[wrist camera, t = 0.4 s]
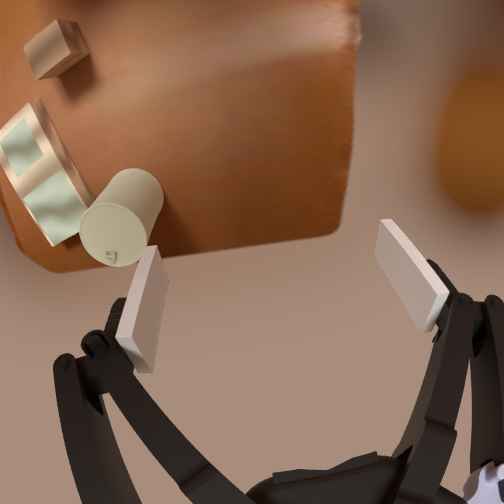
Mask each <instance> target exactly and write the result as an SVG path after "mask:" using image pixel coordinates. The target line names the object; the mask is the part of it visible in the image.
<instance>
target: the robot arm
mask: <svg viewBox="0 0 504 504" xmlns="http://www.w3.org/2000/svg"><path fill="white" fill-rule="evenodd" d="M374 257H375V259H376V261H377V262H378V264H379V265H380V267H381V269H382V270H383V272H384V273H385V275H386V276H387V278H388V280H389V281H390V283H391V285H392V286H393V288H394V289H395V291H396V293H397V295H398V296H399V298H400V300H401V301H402V303H403V305H404V306H405V308H406V310H407V312H408V314H409V315H410V317H411V319H412V321H413V322H414V324H415V326H416V328H417V330H418V332H419V333H420V334H423V333H426V332H430V331H432V329H433V327H434V325H435V323H436V324H437V326H438V328H439V329H438V331H437V333H436V335H435V337H434V338H433V340H432V342H434V345H433V349H432V353H431V356H430V360H429V364H428V367H427V370H426V374H425V377H424V380H423V383H422V386H421V389H420V392H419V395H418V398H417V401H416V404H415V407H414V409H413V412H412V415H411V417H410V420H409V422H408V425H407V427H406V430H405V432H404V434H403V437H402V439H401V441H400V443H399V445H398V446H397V448H396V449H395V451H394V453H393V454H392V456H391V457H389V456H381V455H377V452H376V451H375V452H372V453H368V454H365V455H361V456H358V457H354V458H351V459H349V460H347V461H345V462H344V463H342V464H339V465H338V466H335V467H334V468H331V469H329V470H305V469H297V470H290V471H284V472H275V473H273V477H271V478H268V479H265V480H263V481H261V482H260V483H258V484H256V485H255V486H254V487H252V488H251V489H250V490H249V491H248V492H247V493H246V494H244V493H243V492H242V491H240V490H239V489H238V488H237V487H236V486H235V485H234V484H232V483H231V482H230V481H229V480H228V479H227V478H226V477H225V476H224V475H223V474H222V473H220V472H219V471H218V470H217V469H216V468H215V467H214V466H213V465H212V464H211V463H210V462H209V461H208V460H207V459H206V458H205V457H204V456H203V455H202V454H201V453H200V452H199V451H198V450H197V449H196V448H195V447H194V446H193V445H192V444H191V443H190V442H189V441H188V440H187V439H186V438H185V436H184V435H182V433H181V432H180V431H179V430H178V429H177V428H176V426H175V425H174V424H173V423H172V422H171V421H170V420H169V418H168V417H167V416H166V415H165V414H164V412H163V411H162V410H161V409H160V408H159V406H158V405H157V404H156V403H155V402H154V400H153V399H152V398H151V397H150V395H149V394H148V393H147V392H146V390H145V389H144V388H143V386H142V385H141V384H140V382H139V381H138V380H137V378H136V377H135V376H134V374H133V370H134V367H135V369H136V370H137V372H138V373H153V370H154V363H155V356H156V349H157V344H158V337H159V332H160V326H161V320H162V314H163V308H164V303H165V298H166V293H167V287H168V283H169V281H168V278H167V275H166V272H165V269H164V266H163V263H162V260H161V257H160V253H159V250H158V247H157V245H153V246H146V247H144V250H143V252H142V255H141V258H140V261H139V264H138V267H137V269H136V272H135V275H134V278H133V281H132V284H131V287H130V290H129V293H128V297H126V298H118V299H117V300H116V302H115V303H114V304H113V305H112V308H111V311H110V315H109V317H108V321H107V323H106V326H105V329H104V331H102V330H93V331H91V332H89V333H87V334H86V335H85V336H84V338H83V339H82V342H81V348H82V350H83V351H84V353H85V354H86V356H83V357H80V358H77V359H76V358H75V357H74V356H73V355H72V354H69V353H66V354H62V355H60V356H59V357H58V358H57V359H56V360H55V362H54V364H53V374H54V382H55V391H56V398H57V405H58V411H59V417H60V422H61V428H62V432H63V438H64V442H65V446H66V451H67V455H68V458H69V463H70V466H71V470H72V473H73V477H74V480H75V483H76V487H77V490H78V493H79V496H80V499H81V501H82V504H142V503H141V500H140V498H139V496H138V494H137V492H136V490H135V487H134V485H133V483H132V481H131V478H130V476H129V474H128V471H127V469H126V466H125V464H124V461H123V458H122V456H121V453H120V450H119V448H118V445H117V442H116V439H115V436H114V433H113V431H112V427H111V424H110V421H109V418H108V415H107V411H106V408H105V404H104V401H103V398H102V394H105V393H108V392H109V393H110V395H111V396H112V398H113V400H114V401H115V403H116V404H117V406H118V407H119V409H120V410H121V412H122V413H123V415H124V416H125V418H126V419H127V421H128V422H129V424H130V425H131V426H132V428H133V429H134V431H135V432H136V433H137V435H138V436H139V437H140V439H141V440H142V441H143V443H144V444H145V445H146V447H147V448H148V449H149V451H150V452H151V453H152V454H153V456H154V457H155V458H156V459H157V460H158V462H159V463H160V464H161V465H162V467H163V468H164V469H165V470H166V471H167V473H168V474H169V475H170V476H171V477H172V478H173V479H174V481H175V482H176V483H177V484H178V486H179V488H180V490H181V491H182V492H183V493H184V494H185V496H186V497H187V498H188V499H189V500H190V501H191V502H192V503H193V504H504V302H503V301H502V300H501V299H500V298H499V297H498V296H495V295H488V296H487V297H486V299H485V301H484V302H477V301H473V299H472V298H471V297H470V296H469V295H467V294H464V293H459V292H458V291H457V289H456V288H455V287H454V285H453V284H452V283H451V281H450V280H449V279H448V278H447V277H446V275H445V274H444V272H442V270H441V268H439V266H438V265H437V264H436V263H435V262H433V261H432V260H430V259H427V260H425V259H424V257H423V256H422V255H421V254H420V252H419V251H418V250H417V249H416V248H415V246H414V245H413V244H412V243H411V241H410V240H409V239H408V238H407V237H406V236H405V234H404V233H403V232H402V231H401V230H400V229H399V227H398V226H397V225H396V224H395V223H394V222H393V221H392V219H385V220H380V226H379V232H378V238H377V245H376V250H375V255H374ZM469 358H470V369H471V386H472V432H471V434H472V435H471V451H470V474H471V475H470V476H469V477H468V479H467V482H466V483H465V485H464V487H463V492H464V493H465V494H464V497H463V498H461V497H460V496H458V495H456V494H454V493H452V492H451V491H449V490H447V489H446V488H444V487H442V486H441V485H440V483H441V481H442V478H443V475H444V473H445V470H446V467H447V465H448V462H449V459H450V456H451V453H452V450H453V447H454V444H455V441H456V437H457V431H456V430H455V429H454V427H455V422H456V419H457V415H458V411H459V407H460V403H461V399H462V395H463V390H464V385H465V380H466V375H467V369H468V363H469Z"/></svg>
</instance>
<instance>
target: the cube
mask: <svg viewBox="0 0 504 504" xmlns="http://www.w3.org/2000/svg"><path fill="white" fill-rule="evenodd" d="M23 48H24V51H25V54H26V56H27V59H28V61H29V63H30V66H31V68H32V71H33V73H34V75H35V78H36V80H41V79H46V78H52V77H57V76H59V75H61V74H62V73H63V72H64V71H66V70H67V69H68V68H70V67H71V66H73V65H74V64H75V63H77V62H78V61H80V60H81V59H82V58H84V57H85V56H87V55H88V54H90V52H89V50H88V47H87V45H86V43H85V41H84V38H83V36H82V34H81V31H80V29H79V27H78V25H77V22H71V21H66V20H59V19H56V20H54V21H53V22H52V23H51V24H49V25H48V26H47V27H46V28H45V29H43V30H42V31H41V32H40V33H39V34H37V35H36V36H35V37H34V38H33V39H32V40H31V41H29V42H28V43H27V44H26V45H25V46H24V47H23Z"/></svg>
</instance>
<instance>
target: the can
mask: <svg viewBox="0 0 504 504" xmlns="http://www.w3.org/2000/svg"><path fill="white" fill-rule="evenodd" d="M163 202H164V194H163V190H162V187H161V185H160V183H159V182H158V180H157V179H156V178H155V177H154V176H153V175H152V174H150V173H149V172H147V171H144V170H141V169H137V168H130V169H125V170H122V171H120V172H119V173H117V174H116V175H115V176H114V177H113V178H112V179H111V181H110V183H109V184H108V186H107V187H106V188H105V189H104V190H103V192H102V193H101V194H100V195H99V197H98V198H97V199H96V200H95V201H94V203H93V204H92V205H91V206H90V207H89V208H88V209H87V210H86V211H85V213H84V214H83V216H82V218H81V220H80V224H79V234H80V238H81V241H82V244H83V245H84V247H85V249H86V250H87V251H88V253H89V254H90V255H91V256H93V257H94V258H95V259H96V260H98V261H100V262H102V263H104V264H106V265H109V266H115V267H124V266H128V265H131V264H133V263H135V262H137V261H138V260H139V259H140V258H141V255H142V252H143V250H144V247H146V246H147V243H148V240H149V237H150V234H151V231H152V229H153V226H154V223H155V221H156V218H157V216H158V214H159V212H160V211H161V209H162V206H163Z"/></svg>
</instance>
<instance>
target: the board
mask: <svg viewBox="0 0 504 504" xmlns="http://www.w3.org/2000/svg"><path fill="white" fill-rule="evenodd" d="M0 164H1V166H2V167H3V169H4V171H5V173H6V175H7V176H8V178H9V180H10V182H11V184H12V185H13V187H14V189H15V190H16V192H17V194H18V195H19V197H20V199H21V200H22V202H23V204H24V205H25V207H26V208H27V210H28V211H29V213H30V214H31V216H32V218H33V219H34V221H35V222H36V224H37V225H38V227H39V228H40V229H41V231H42V232H43V234H44V235H45V237H46V238H47V240H48V241H49V242H50V244H51V245H52V246H55V245H57V244H58V243H60V242H62V241H63V240H65V239H67V238H69V237H71V236H72V235H74V234H76V233H78V232H79V224H80V220H81V218H82V216H83V214H84V213H85V211H86V210H87V209H88V208H89V207H90V206H91V205H92V204H93V203H94V201H95V199H94V198H93V196H92V194H91V193H90V191H89V190H88V188H87V186H86V185H85V183H84V181H83V179H82V178H81V176H80V174H79V173H78V171H77V169H76V167H75V166H74V164H73V162H72V160H71V159H70V157H69V155H68V153H67V151H66V149H65V148H64V146H63V144H62V142H61V140H60V138H59V136H58V134H57V133H56V131H55V129H54V127H53V125H52V123H51V121H50V119H49V117H48V115H47V113H46V111H45V108H44V106H43V104H42V102H41V100H40V98H39V99H36V100H33V101H30V102H28V103H27V104H26V105H25V106H24V107H23V108H22V109H21V110H20V111H19V112H18V113H17V114H16V115H15V116H14V117H13V118H12V119H11V120H10V121H9V122H8V123H7V124H6V125H5V126H4V127H3V128H2V129H1V130H0Z"/></svg>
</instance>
